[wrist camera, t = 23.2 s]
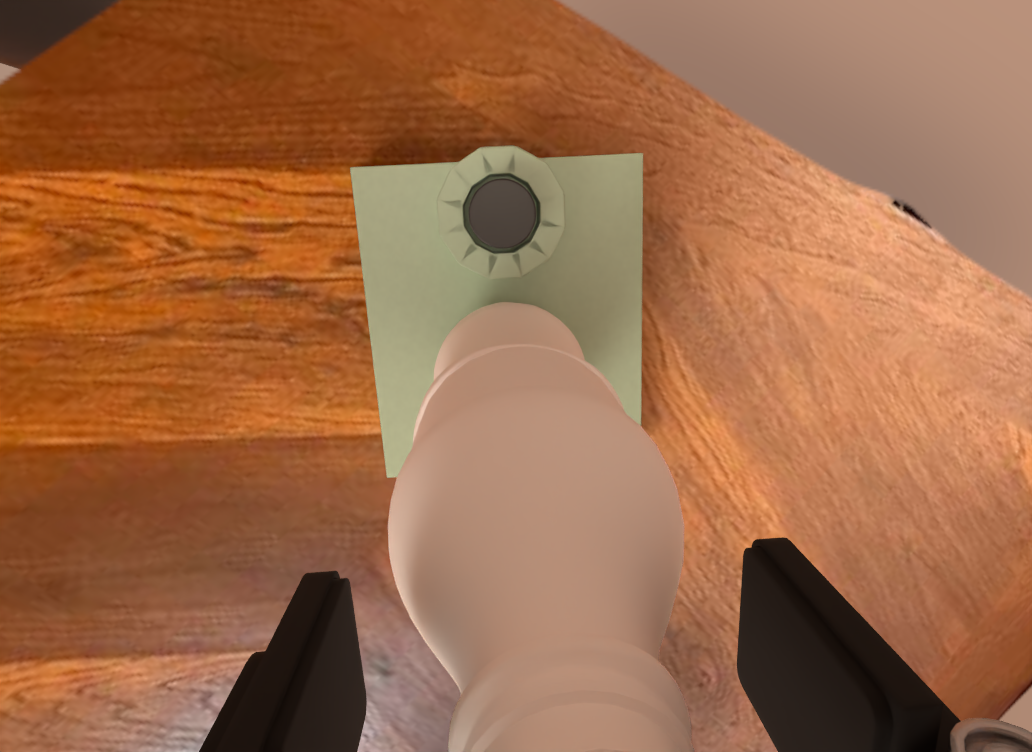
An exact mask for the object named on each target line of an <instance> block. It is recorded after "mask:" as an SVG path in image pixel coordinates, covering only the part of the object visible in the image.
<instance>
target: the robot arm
mask: <svg viewBox="0 0 1032 752" xmlns="http://www.w3.org/2000/svg"><path fill="white" fill-rule="evenodd" d="M737 670H738V676H739V679H740V682H741V685H742V687H743V689H744V691H745V692H746V694H747V696H748V698H749V700H750V701H751V703H752V705H753V707H754V709H755V711H756V712H757V714H758V716H759V718H760V720H761V721H762V723H763V725H764V727H765V729H766V731H767V732H768V734H769V736H770V738H771V740H772V741H773V743H774V745H775V747H776V749H777V751H778V752H1032V733H1031V732H1029V731H1027V730H1025V729H1023V728H1021V727H1018V726H1015V725H1012V724H1009V723H1006V722H1003V721H999V720H993V719H987V718H972V719H966V720H964V721H960V720H959V719H958V718H957V717H956V716H955V715H954V714H953V713H952V711H951V710H950V709H949V708H948V707H947V706H946V705H945V704H944V703H943V702H942V701H941V700H940V699H939V698H938V697H937V696H936V695H935V693H934V692H933V691H932V690H931V689H930V688H929V687H928V686H927V685H926V684H925V683H924V682H923V681H922V680H921V679H920V678H919V677H918V675H917V674H916V673H915V672H914V671H913V670H912V669H911V668H910V667H909V666H908V665H907V664H906V663H905V662H904V661H903V660H902V659H901V657H900V656H899V655H898V654H897V653H896V652H895V651H894V650H893V649H892V648H891V647H890V646H889V645H888V644H887V643H886V642H885V641H884V639H883V638H882V637H881V636H880V635H879V634H878V633H877V632H876V631H875V630H874V629H873V628H872V627H871V626H870V625H869V624H868V622H867V621H866V620H865V619H864V618H863V617H862V616H861V615H860V614H859V613H858V612H857V611H856V610H855V609H854V608H853V607H852V606H851V605H850V604H849V603H848V602H847V601H846V600H845V598H844V597H843V596H842V595H841V594H840V593H839V592H838V591H837V590H836V589H835V588H834V587H833V586H832V585H831V584H830V583H829V581H828V580H827V579H826V578H825V577H824V576H823V575H822V574H821V573H820V572H819V571H818V570H817V569H816V568H815V567H814V566H813V565H812V563H811V562H810V561H809V560H808V559H807V558H806V557H805V556H804V555H803V554H802V553H801V552H800V551H799V550H798V549H797V548H796V546H795V545H794V544H793V543H792V542H791V541H790V540H788V539H787V538H770V539H757V540H755V541H754V542H753V544H752V548H746V549H745V551H744V555H743V571H742V588H741V604H740V621H739V638H738V654H737ZM365 715H366V690H365V683H364V676H363V670H362V663H361V656H360V649H359V642H358V635H357V628H356V621H355V615H354V608H353V601H352V594H351V587H350V582H349V580H348V579H347V578H343V579H340V577H339V574H338V572H337V571H329V572H315V573H306V574H305V575H304V576H303V578H302V580H301V582H300V584H299V586H298V588H297V590H296V592H295V594H294V596H293V598H292V600H291V602H290V603H289V605H288V607H287V609H286V611H285V613H284V615H283V617H282V619H281V621H280V623H279V625H278V627H277V629H276V631H275V633H274V635H273V637H272V639H271V641H270V643H269V645H268V647H267V649H266V651H264V652H256V653H254V654H252V655H251V657H250V658H249V659H248V661H247V662H246V664H245V666H244V668H243V670H242V672H241V674H240V676H239V677H238V679H237V681H236V683H235V685H234V687H233V689H232V691H231V692H230V694H229V696H228V698H227V700H226V702H225V704H224V706H223V708H222V709H221V711H220V713H219V715H218V717H217V719H216V721H215V723H214V724H213V726H212V728H211V730H210V732H209V734H208V736H207V738H206V739H205V741H204V743H203V745H202V747H201V749H200V751H199V752H357V750H358V746H359V741H360V737H361V733H362V729H363V724H364V720H365Z"/></svg>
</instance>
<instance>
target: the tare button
mask: <svg viewBox="0 0 1032 752" xmlns="http://www.w3.org/2000/svg"><path fill="white" fill-rule="evenodd" d="M469 221H470V225H471V227H472V230H473V231H474V233H475V234H476V236H477V237H478V238H479V239H480V240H481V241H482V242H483V243H485V244H487V245H489V246H491V247H494V248H500V249H505V248H511V247H514V246H517V245H519V244H520V243H522V242H523V241H524V240H525V239H526V238H527V237H528V236H529V235H530V233H531V232H532V230H533V228H534V225H535V221H536V206H535V203H534V200H533V198H532V196H531V194H530V193H529V191H528V190H527V189H526V188H525V187H524V186H523V185H521V184H520V183H518V182H516V181H514V180H510V179H504V178H500V179H494V180H491V181H488V182H487V183H485V184H483V185H482V186H481V187H480V188H479V189H478V190H477V191H476V192H475V194H474V195H473V197H472V199H471V202H470V206H469Z"/></svg>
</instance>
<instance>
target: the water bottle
mask: <svg viewBox="0 0 1032 752" xmlns="http://www.w3.org/2000/svg"><path fill="white" fill-rule="evenodd" d="M388 542H389V554H390V562H391V566H392V571H393V575H394V579H395V583H396V586H397V589H398V591H399V594H400V596H401V599H402V601H403V603H404V605H405V607H406V609H407V611H408V614H409V616H410V618H411V620H412V621H413V623H414V625H415V626H416V628H417V629H418V631H419V633H420V634H421V636H422V637H423V639H424V641H425V642H426V644H427V645H428V646H429V648H430V649H431V650H432V652H433V653H434V655H435V656H436V657H437V659H438V660H439V661H440V663H441V664H442V665H443V666H444V668H445V669H446V670H447V672H448V673H449V674H450V676H451V677H452V678H453V680H454V681H455V683H456V684H457V686H458V688H459V690H460V693H461V697H460V699H459V700H458V702H457V704H456V706H455V709H454V712H453V716H452V719H451V722H450V730H449V743H448V752H694V748H693V745H692V743H691V720H690V716H689V711H688V707H687V704H686V702H685V699H684V697H683V695H682V693H681V691H680V688H679V686H678V684H677V682H676V681H675V680H674V678H673V677H672V676H671V674H670V673H669V672H668V670H667V669H666V668H665V667H664V666H663V665H662V664H660V663H659V650H660V646H661V643H662V640H663V637H664V634H665V631H666V628H667V625H668V623H669V620H670V617H671V613H672V609H673V605H674V601H675V597H676V593H677V589H678V584H679V580H680V575H681V570H682V566H683V556H684V521H683V516H682V511H681V506H680V500H679V496H678V491H677V487H676V485H675V482H674V480H673V477H672V475H671V472H670V470H669V468H668V465H667V464H666V462H665V460H664V458H663V456H662V454H661V452H660V451H659V449H658V447H657V445H656V444H655V443H654V441H653V440H652V439H651V438H650V436H649V435H648V434H647V433H646V432H645V430H644V429H643V428H642V427H641V426H640V425H639V424H638V423H637V422H635V421H634V420H633V419H632V418H631V417H629V416H628V415H627V414H626V413H625V411H624V408H623V405H622V403H621V401H620V399H619V397H618V395H617V393H616V391H615V390H614V388H613V387H612V385H611V384H610V382H609V381H608V380H607V379H606V378H605V376H604V375H603V374H602V373H601V372H600V371H599V370H598V369H596V368H595V367H594V366H593V365H591V364H590V363H588V362H586V361H585V359H584V355H583V352H582V350H581V347H580V345H579V343H578V341H577V340H576V338H575V336H574V335H573V333H572V332H571V331H570V330H569V328H568V327H566V326H565V325H564V324H563V323H562V322H561V321H560V320H559V319H558V318H556V317H555V316H553V315H552V314H550V313H549V312H548V311H546V310H543V309H541V308H539V307H537V306H534V305H530V304H523V303H513V302H499V303H494V304H491V305H487V306H484V307H481V308H479V309H477V310H475V311H473V312H472V313H470V314H468V315H467V316H466V317H464V318H463V319H462V320H461V321H459V322H458V323H457V325H456V326H455V327H454V328H453V329H452V330H451V331H450V332H449V334H448V335H447V337H446V338H445V340H444V342H443V344H442V346H441V348H440V350H439V353H438V356H437V359H436V362H435V367H434V382H433V383H432V384H431V386H430V388H429V389H428V391H427V393H426V395H425V397H424V399H423V401H422V404H421V407H420V410H419V413H418V416H417V419H416V423H415V428H414V435H413V446H412V449H411V452H410V453H409V454H408V456H407V458H406V460H405V462H404V464H403V466H402V468H401V470H400V472H399V474H398V476H397V480H396V483H395V487H394V491H393V494H392V498H391V503H390V512H389V520H388Z"/></svg>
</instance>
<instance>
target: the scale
mask: <svg viewBox="0 0 1032 752" xmlns="http://www.w3.org/2000/svg"><path fill="white" fill-rule="evenodd" d="M350 172H351V180H352V189H353V197H354V205H355V214H356V222H357V231H358V239H359V247H360V256H361V264H362V273H363V281H364V289H365V298H366V306H367V315H368V323H369V331H370V340H371V348H372V356H373V365H374V373H375V382H376V390H377V398H378V407H379V415H380V424H381V432H382V440H383V449H384V457H385V466H386V474H387V478H390V477H397V476H398V474H399V472H400V470H401V468H402V466H403V464H404V462H405V460H406V458H407V456H408V454H409V453H410V452H411V449H412V446H413V435H414V428H415V423H416V419H417V416H418V413H419V410H420V407H421V404H422V401H423V399H424V397H425V395H426V393H427V391H428V389H429V388H430V386H431V384H432V383H433V382H434V367H435V362H436V359H437V356H438V353H439V350H440V348H441V346H442V344H443V342H444V340H445V338H446V337H447V335H448V334H449V332H450V331H451V330H452V329H453V328H454V327H455V326H456V325H457V323H458V322H459V321H461V320H462V319H463V318H464V317H466V316H467V315H468V314H470V313H472V312H473V311H475V310H477V309H479V308H481V307H484V306H487V305H491V304H494V303H499V302H513V303H523V304H530V305H534V306H537V307H539V308H541V309H543V310H546V311H548V312H549V313H550V314H552V315H553V316H555V317H556V318H558V319H559V320H560V321H561V322H562V323H563V324H564V325H565V326H566V327H568V328H569V330H570V331H571V332H572V333H573V335H574V336H575V338H576V340H577V341H578V343H579V345H580V347H581V350H582V352H583V355H584V359H585V361H586V362H588V363H590V364H591V365H593V366H594V367H595V368H596V369H598V370H599V371H600V372H601V373H602V374H603V375H604V376H605V378H606V379H607V380H608V381H609V382H610V384H611V385H612V387H613V388H614V390H615V391H616V393H617V395H618V397H619V399H620V401H621V403H622V405H623V408H624V411H625V413H626V414H627V415H628V416H629V417H631V418H632V419H633V420H634V421H635V422H637V423H638V424H639V425H640V426H641V401H642V249H643V153H630V154H609V155H589V156H569V157H548V158H538V157H536V156H534V155H532V154H531V153H529V152H527V151H525V150H523V149H521V148H520V147H518V146H514V145H510V146H490V147H481V148H478V149H477V150H475V151H474V152H472V153H471V154H469V155H468V156H467V157H465V158H464V159H462V160H461V161H459V162H447V163H426V164H406V165H385V166H365V167H351V168H350ZM500 178H504V179H510V180H514V181H516V182H518V183H520V184H521V185H523V186H524V187H525V188H526V189H527V190H528V191H529V193H530V194H531V196H532V198H533V200H534V203H535V206H536V221H535V225H534V228H533V230H532V232H531V233H530V235H529V236H528V237H527V238H526V239H525V240H524V241H523V242H522V243H520V244H519V245H517V246H514V247H511V248H505V249H500V248H494V247H491V246H489V245H487V244H485V243H483V242H482V241H481V240H480V239H479V238H478V237H477V236H476V234H475V233H474V231H473V230H472V227H471V225H470V221H469V206H470V202H471V199H472V197H473V195H474V194H475V192H476V191H477V190H478V189H479V188H480V187H481V186H482V185H483V184H485V183H487V182H488V181H491V180H494V179H500Z"/></svg>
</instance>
